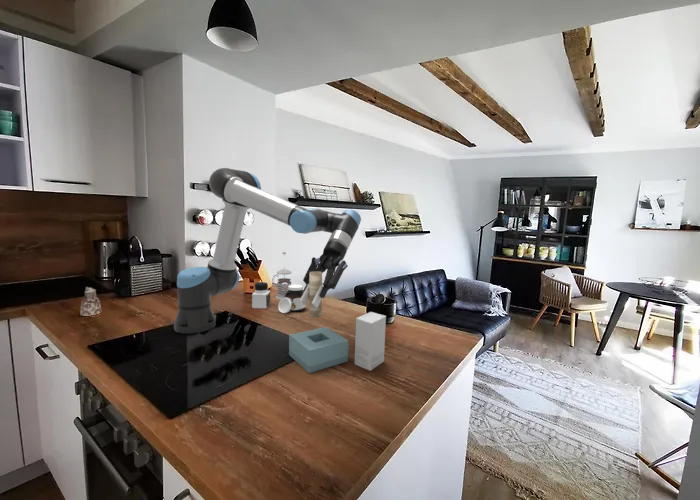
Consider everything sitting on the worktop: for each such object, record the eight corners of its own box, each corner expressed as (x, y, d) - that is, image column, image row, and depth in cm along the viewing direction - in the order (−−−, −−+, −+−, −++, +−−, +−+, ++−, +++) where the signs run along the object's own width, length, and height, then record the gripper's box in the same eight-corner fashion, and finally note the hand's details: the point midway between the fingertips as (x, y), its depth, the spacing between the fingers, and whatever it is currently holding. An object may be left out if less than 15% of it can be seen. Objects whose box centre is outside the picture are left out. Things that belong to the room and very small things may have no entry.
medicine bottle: (266, 308, 153) (266, 284, 152) (251, 308, 154) (251, 284, 152) (270, 304, 160) (270, 281, 159) (256, 304, 161) (256, 280, 159)
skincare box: (369, 356, 106) (370, 310, 105) (385, 362, 102) (387, 315, 100) (353, 364, 100) (354, 317, 98) (370, 372, 96) (372, 322, 94)
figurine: (83, 318, 134) (81, 290, 133) (78, 314, 138) (76, 287, 137) (103, 314, 140) (101, 287, 138) (98, 310, 144) (96, 284, 143)
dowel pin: (313, 318, 99) (313, 274, 98) (307, 314, 103) (307, 272, 101) (324, 315, 102) (324, 272, 100) (317, 312, 105) (318, 270, 103)
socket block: (309, 373, 94) (309, 350, 93) (289, 355, 105) (289, 334, 105) (347, 361, 102) (348, 340, 101) (325, 345, 114) (325, 326, 113)
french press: (289, 300, 169) (289, 253, 166) (268, 298, 171) (268, 252, 168) (295, 295, 179) (296, 251, 176) (276, 293, 181) (276, 250, 178)
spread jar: (307, 307, 157) (307, 284, 155) (301, 315, 145) (301, 290, 144) (283, 306, 158) (283, 283, 156) (276, 313, 146) (276, 289, 145)
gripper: (362, 255, 109) (336, 315, 97) (321, 251, 117) (292, 306, 105) (355, 240, 104) (326, 302, 92) (312, 238, 112) (281, 294, 100)
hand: (308, 304), depth 98 cm, fingers closed on dowel pin, 4 cm apart
